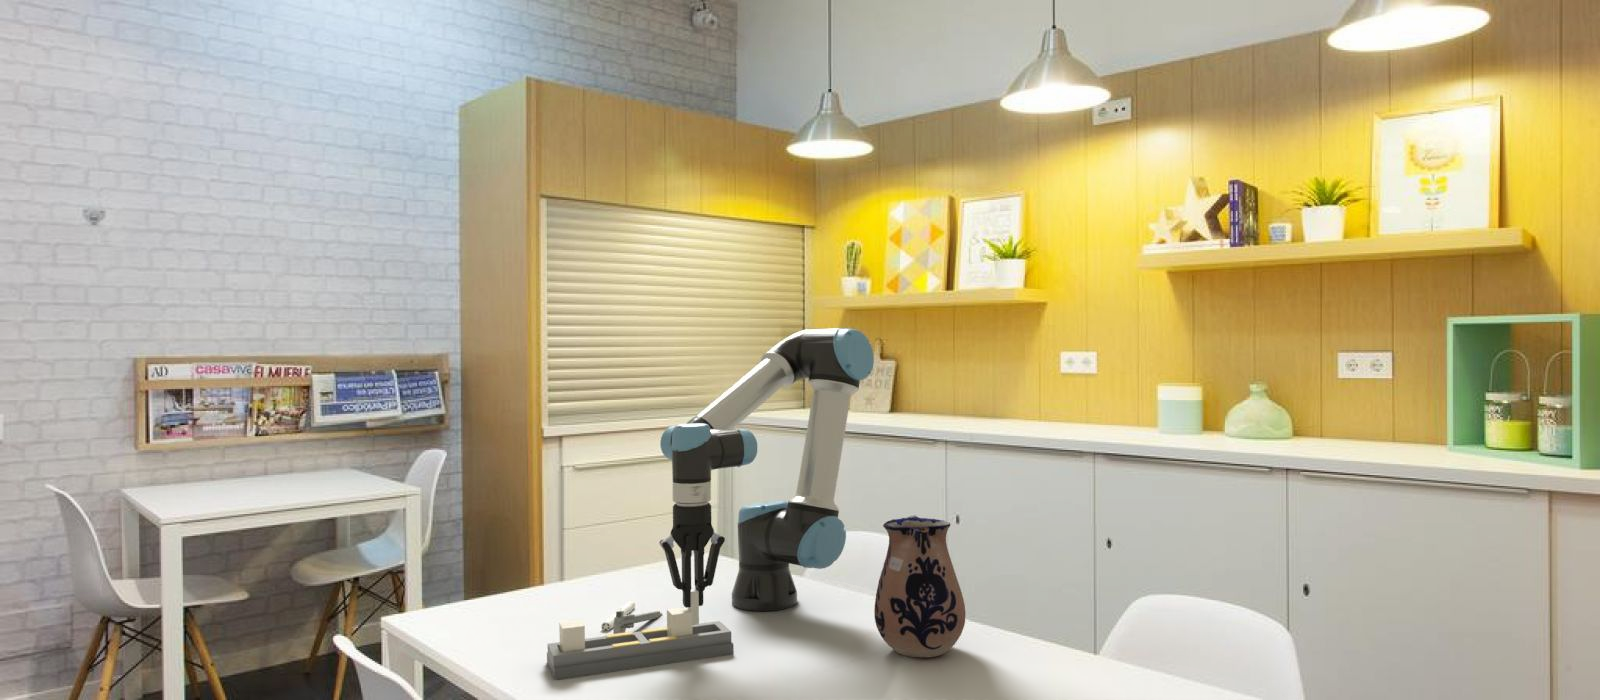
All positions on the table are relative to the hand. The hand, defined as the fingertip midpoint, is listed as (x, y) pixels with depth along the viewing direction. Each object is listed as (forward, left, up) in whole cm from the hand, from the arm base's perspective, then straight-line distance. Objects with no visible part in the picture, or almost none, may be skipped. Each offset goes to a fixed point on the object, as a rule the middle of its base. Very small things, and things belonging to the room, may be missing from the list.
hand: (693, 622), depth 187 cm
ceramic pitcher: (-41, +17, -6) cm, 44 cm away
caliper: (+6, -19, -6) cm, 21 cm away
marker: (+8, -28, -6) cm, 30 cm away
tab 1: (+23, 0, -3) cm, 24 cm away
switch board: (+10, 0, -6) cm, 12 cm away
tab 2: (+3, 0, -3) cm, 4 cm away
